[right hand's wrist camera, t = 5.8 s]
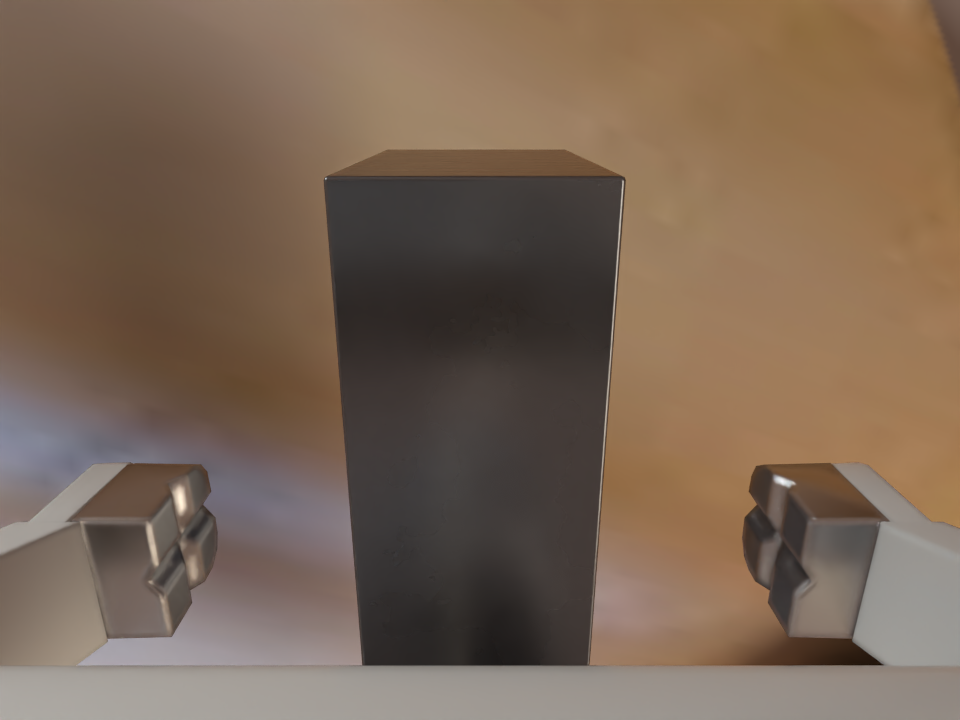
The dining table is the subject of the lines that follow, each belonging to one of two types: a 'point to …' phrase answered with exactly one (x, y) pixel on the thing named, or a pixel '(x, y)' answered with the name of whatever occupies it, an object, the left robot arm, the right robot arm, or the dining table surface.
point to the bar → (475, 398)
